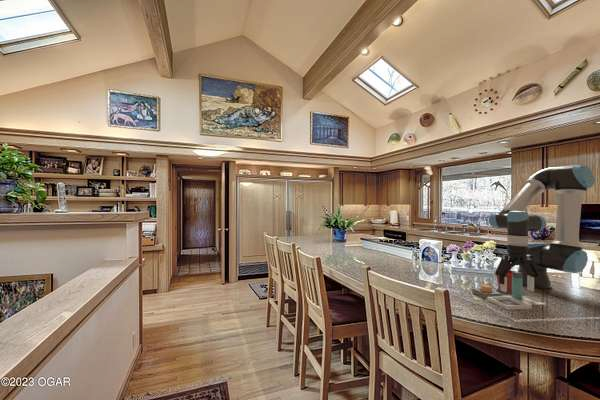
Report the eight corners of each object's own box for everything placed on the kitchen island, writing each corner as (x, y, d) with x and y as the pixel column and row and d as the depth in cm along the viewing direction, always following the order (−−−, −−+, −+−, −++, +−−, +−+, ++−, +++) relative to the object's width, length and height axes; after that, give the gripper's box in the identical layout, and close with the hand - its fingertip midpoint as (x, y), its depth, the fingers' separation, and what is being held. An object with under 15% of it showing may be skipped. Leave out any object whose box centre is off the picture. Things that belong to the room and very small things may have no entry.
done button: (486, 292, 131) (487, 285, 131) (494, 295, 126) (494, 287, 126) (478, 292, 130) (478, 285, 130) (485, 295, 126) (485, 288, 126)
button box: (487, 294, 133) (487, 287, 133) (501, 299, 125) (501, 293, 125) (472, 294, 132) (472, 288, 132) (485, 300, 124) (485, 293, 124)
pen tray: (509, 301, 123) (509, 296, 123) (531, 310, 113) (531, 305, 113) (487, 301, 122) (487, 296, 122) (507, 311, 111) (507, 306, 111)
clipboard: (521, 295, 131) (521, 293, 131) (550, 306, 117) (550, 304, 117) (498, 296, 130) (498, 293, 130) (525, 307, 116) (525, 304, 116)
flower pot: (512, 287, 143) (512, 269, 143) (527, 294, 132) (527, 275, 132) (490, 286, 144) (491, 268, 144) (504, 293, 133) (504, 274, 133)
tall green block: (517, 297, 126) (517, 271, 126) (524, 300, 123) (524, 273, 123) (509, 297, 126) (509, 271, 126) (516, 300, 122) (517, 273, 122)
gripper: (534, 243, 129) (533, 287, 129) (485, 243, 127) (485, 288, 127) (550, 245, 122) (549, 293, 122) (499, 246, 119) (498, 294, 119)
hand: (517, 290), depth 124 cm, fingers open, 13 cm apart
